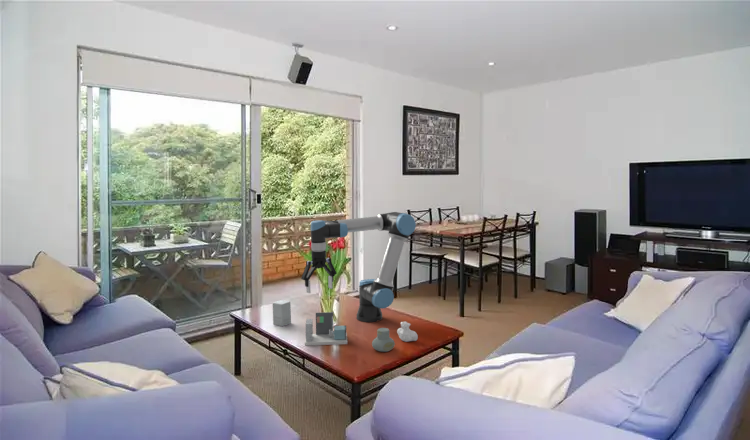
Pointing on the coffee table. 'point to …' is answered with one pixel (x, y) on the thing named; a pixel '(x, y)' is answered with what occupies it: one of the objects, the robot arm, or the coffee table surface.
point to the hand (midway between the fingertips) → (319, 290)
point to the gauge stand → (324, 331)
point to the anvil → (309, 330)
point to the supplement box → (281, 313)
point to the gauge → (338, 331)
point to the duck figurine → (406, 333)
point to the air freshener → (383, 341)
